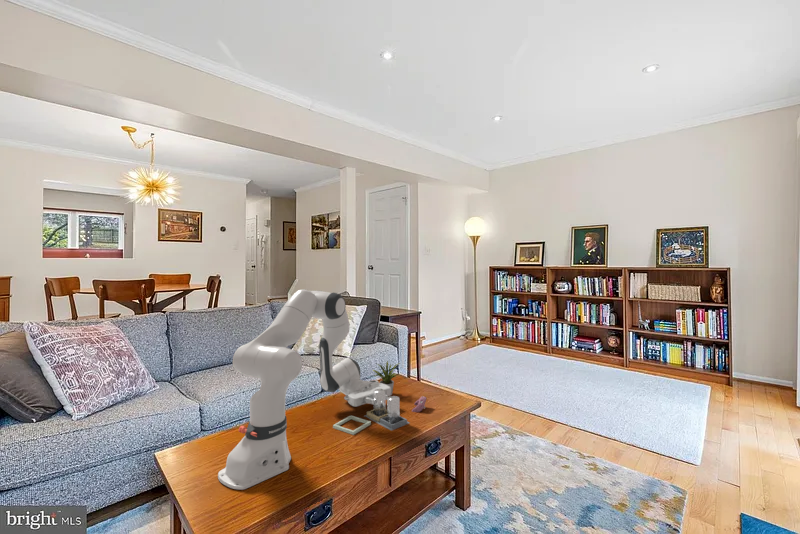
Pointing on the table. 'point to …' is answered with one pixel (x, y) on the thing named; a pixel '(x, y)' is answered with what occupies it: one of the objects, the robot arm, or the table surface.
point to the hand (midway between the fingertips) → (380, 400)
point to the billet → (393, 409)
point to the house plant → (387, 376)
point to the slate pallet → (383, 420)
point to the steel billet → (379, 402)
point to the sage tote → (338, 427)
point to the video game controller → (419, 404)
